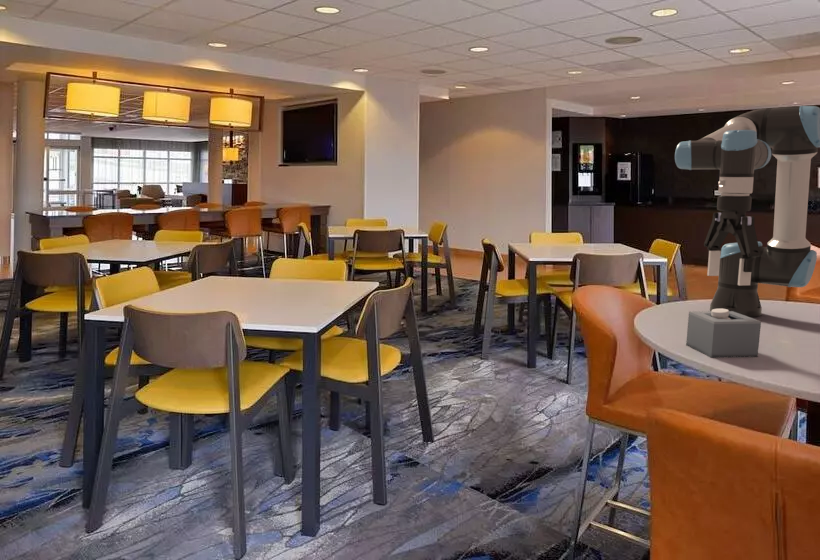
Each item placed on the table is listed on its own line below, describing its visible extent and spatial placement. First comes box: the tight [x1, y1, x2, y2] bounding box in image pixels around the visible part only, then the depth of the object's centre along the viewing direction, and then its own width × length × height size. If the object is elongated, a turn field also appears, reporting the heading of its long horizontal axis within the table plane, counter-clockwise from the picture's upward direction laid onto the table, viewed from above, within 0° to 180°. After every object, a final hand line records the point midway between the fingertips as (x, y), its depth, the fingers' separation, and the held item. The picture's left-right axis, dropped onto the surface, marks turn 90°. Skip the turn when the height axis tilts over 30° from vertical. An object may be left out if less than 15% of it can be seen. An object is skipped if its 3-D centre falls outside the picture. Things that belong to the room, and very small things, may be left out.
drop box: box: [685, 310, 762, 359], centre depth 167 cm, size 12×12×9 cm
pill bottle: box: [711, 309, 730, 319], centre depth 166 cm, size 5×5×10 cm
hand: (727, 280), depth 165 cm, fingers open, 13 cm apart
